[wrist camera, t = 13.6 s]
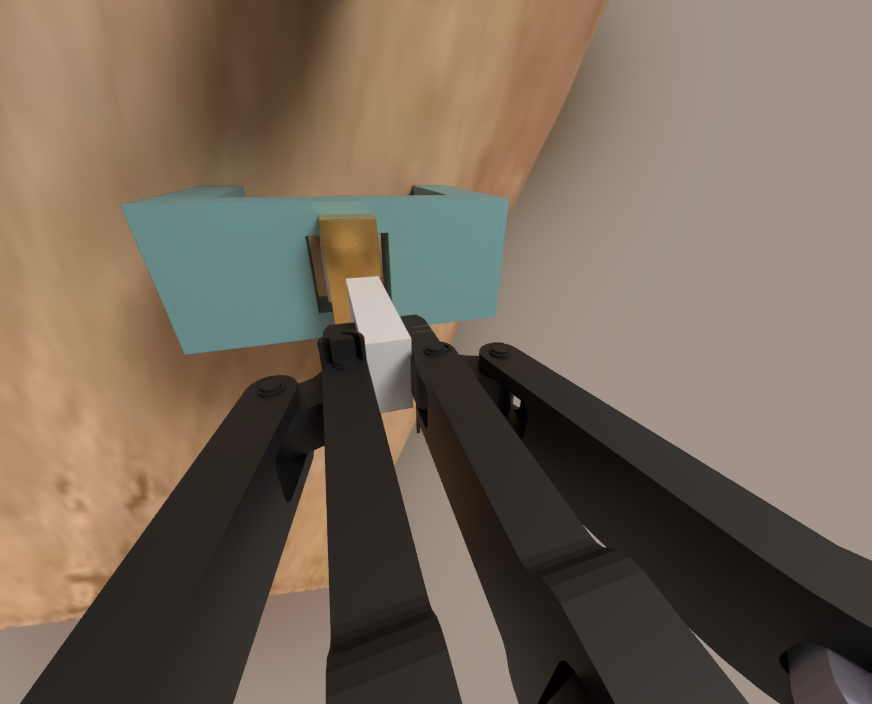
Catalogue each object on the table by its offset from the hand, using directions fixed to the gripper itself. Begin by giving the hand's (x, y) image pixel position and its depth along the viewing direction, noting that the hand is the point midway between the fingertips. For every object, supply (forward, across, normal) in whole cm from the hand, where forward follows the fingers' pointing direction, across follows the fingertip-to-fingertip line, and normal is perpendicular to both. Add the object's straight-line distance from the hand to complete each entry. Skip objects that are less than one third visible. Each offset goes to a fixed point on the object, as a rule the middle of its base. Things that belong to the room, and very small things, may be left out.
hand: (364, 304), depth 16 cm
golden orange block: (+17, 0, 0) cm, 17 cm away
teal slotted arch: (+17, 0, 0) cm, 17 cm away
